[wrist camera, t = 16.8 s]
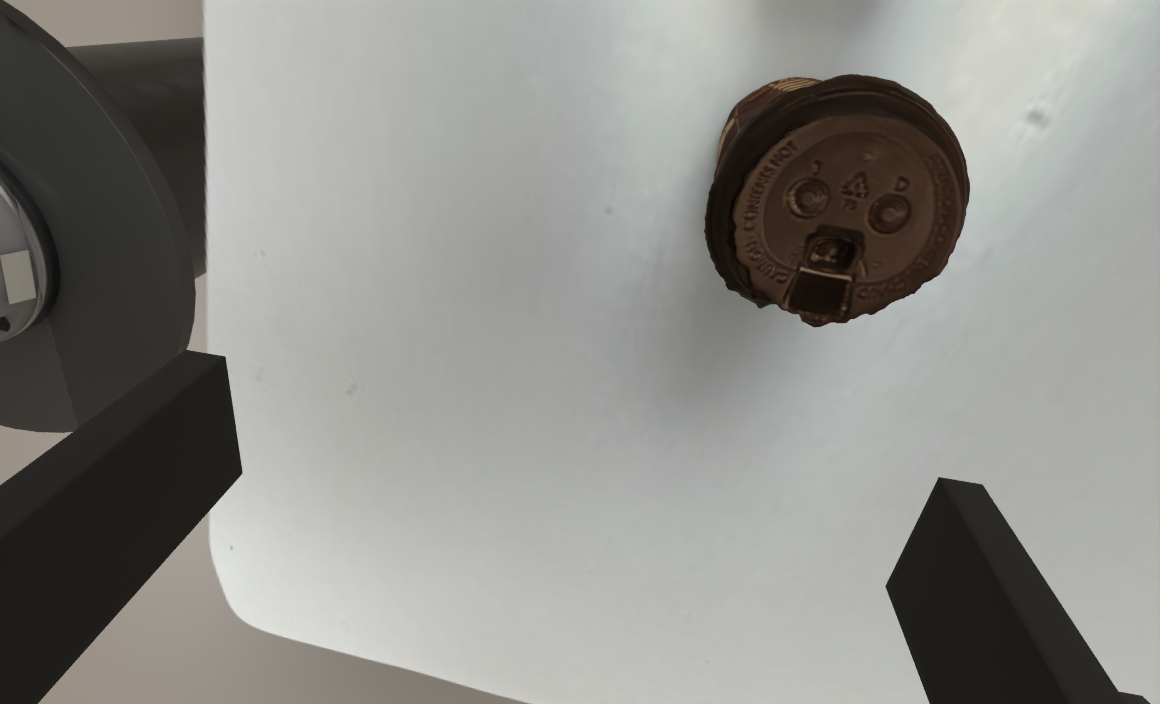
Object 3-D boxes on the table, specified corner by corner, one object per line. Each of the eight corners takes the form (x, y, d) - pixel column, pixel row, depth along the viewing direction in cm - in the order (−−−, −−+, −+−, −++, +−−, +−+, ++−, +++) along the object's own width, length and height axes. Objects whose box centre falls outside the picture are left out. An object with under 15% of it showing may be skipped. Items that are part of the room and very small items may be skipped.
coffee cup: (758, 263, 36) (797, 387, 24) (660, 141, 33) (652, 214, 22) (910, 155, 32) (1040, 239, 21) (813, 10, 30) (898, 15, 18)
